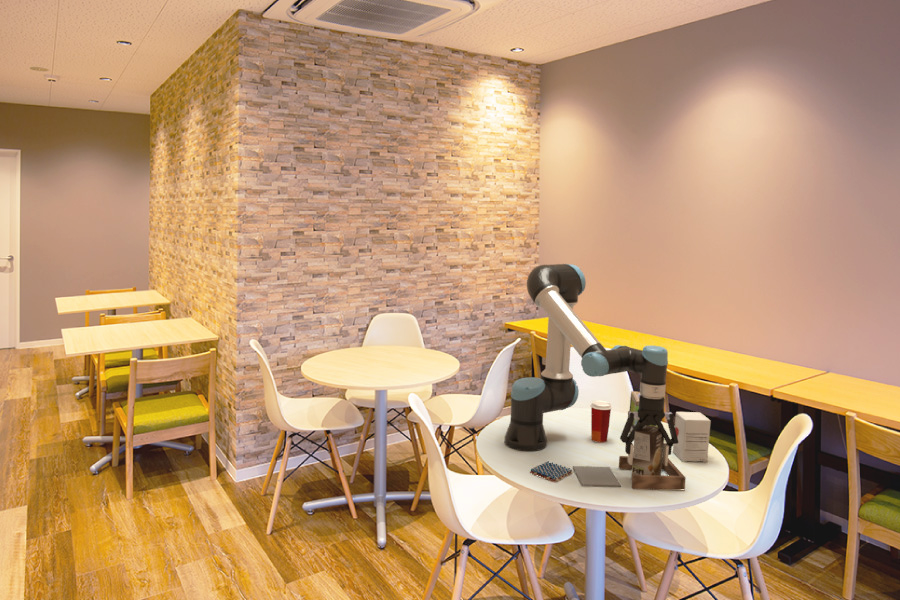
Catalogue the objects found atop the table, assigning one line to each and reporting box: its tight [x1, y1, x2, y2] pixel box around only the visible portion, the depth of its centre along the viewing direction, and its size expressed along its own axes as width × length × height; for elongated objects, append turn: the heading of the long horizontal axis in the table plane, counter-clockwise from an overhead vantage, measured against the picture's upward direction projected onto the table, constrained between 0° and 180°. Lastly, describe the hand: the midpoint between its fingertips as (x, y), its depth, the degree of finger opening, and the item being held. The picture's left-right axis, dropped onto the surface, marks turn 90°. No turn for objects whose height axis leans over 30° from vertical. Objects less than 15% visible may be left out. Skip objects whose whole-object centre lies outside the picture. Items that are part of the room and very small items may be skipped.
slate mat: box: [572, 465, 622, 488], centre depth 199 cm, size 12×14×1 cm
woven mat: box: [529, 460, 573, 484], centre depth 201 cm, size 10×11×2 cm
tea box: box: [628, 390, 658, 433], centre depth 240 cm, size 15×10×15 cm
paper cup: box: [589, 400, 613, 443], centre depth 232 cm, size 8×8×14 cm
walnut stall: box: [618, 455, 687, 490], centre depth 199 cm, size 16×16×4 cm
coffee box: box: [630, 425, 665, 481], centre depth 198 cm, size 9×6×16 cm
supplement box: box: [672, 411, 712, 463], centre depth 217 cm, size 9×9×15 cm
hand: (647, 463), depth 199 cm, fingers closed on coffee box, 10 cm apart
